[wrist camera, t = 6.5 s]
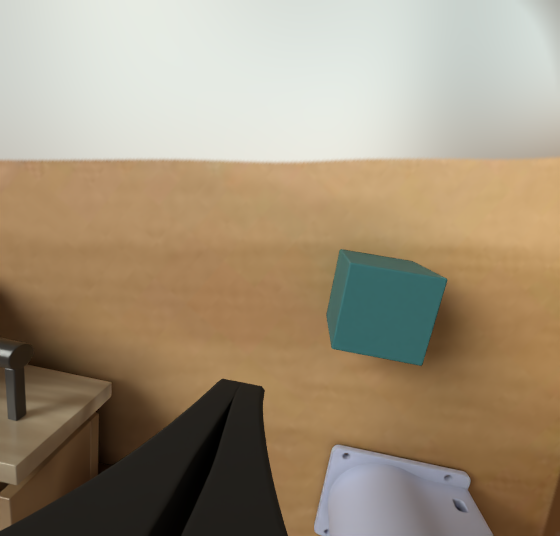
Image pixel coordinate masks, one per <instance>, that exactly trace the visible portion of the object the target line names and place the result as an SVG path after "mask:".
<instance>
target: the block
mask: <svg viewBox="0 0 560 536" xmlns="http://www.w3.org/2000/svg"><path fill="white" fill-rule="evenodd" d="M446 283H447V279H446V278H444V277H442V276H440V275H438V274H436V273H434V272H432V271H431V270H429V269H427V268H425V267H423V266H421V265H419V264H417V263H415V262H413V261H408V260H402V259H396V258H390V257H384V256H378V255H372V254H366V253H360V252H354V251H348V250H342V249H341V250H340V251H339V256H338V261H337V266H336V271H335V276H334V281H333V286H332V291H331V295H330V300H329V305H328V310H327V322H328V328H329V334H330V341H331V347H332V349H336V350H342V351H347V352H352V353H357V354H362V355H368V356H373V357H378V358H383V359H389V360H394V361H399V362H404V363H409V364H415V365H420V366H422V364H423V361H424V357H425V354H426V351H427V347H428V344H429V341H430V337H431V334H432V330H433V327H434V324H435V320H436V317H437V314H438V310H439V307H440V303H441V300H442V297H443V293H444V290H445V286H446Z"/></svg>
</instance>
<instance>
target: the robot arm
mask: <svg viewBox="0 0 560 536" xmlns="http://www.w3.org/2000/svg"><path fill="white" fill-rule="evenodd" d="M264 392H265V390H264V389H263V388H262V386H257V385H252V384H247V383H242V382H237V381H232V380H226V379H221V380H220V381H218V382H217V383H216V384H215V385H214V386H213V387H212V388H211V389H210V390H209V391H208V392H207V393H205V394H204V395H203V396H202V397H201V398H200V399H199V400H198V401H197V402H195V403H194V404H193V405H192V406H191V407H190V408H188V409H187V410H186V411H185V412H184V413H182V414H181V415H180V416H179V417H178V418H176V419H175V420H174V421H173V422H172V423H170V424H169V425H168V426H167V427H165V428H164V429H163V430H161V431H160V432H159V433H157V434H156V435H155V436H153V437H152V438H151V439H149V440H148V441H147V442H145V443H144V444H143V445H141V446H140V447H139V448H137V449H136V450H134V451H133V452H132V453H130V454H129V455H127V456H126V457H124V458H123V459H122V460H120V461H119V462H117V463H116V464H114V465H113V466H111V467H109V468H108V469H106V470H105V471H103V472H102V473H100V474H99V475H97V476H96V477H94V478H92V479H91V480H89V481H88V482H86V483H84V484H83V485H81V486H79V487H78V488H76V489H74V490H72V491H71V492H69V493H67V494H66V495H64V496H62V497H61V498H59V499H57V500H55V501H54V502H52V503H50V504H48V505H47V506H45V507H43V508H41V509H40V510H38V511H36V512H34V513H33V514H31V515H29V516H27V517H25V518H24V519H22V520H20V521H18V522H16V523H14V524H12V525H10V526H8V527H7V528H5V529H3V530H1V531H0V536H288V535H287V531H286V528H285V525H284V521H283V517H282V514H281V510H280V507H279V503H278V499H277V495H276V491H275V487H274V482H273V478H272V473H271V468H270V463H269V458H268V452H267V446H266V439H265V431H264V422H263V398H264ZM344 453H348V454H347V455H345V454H344ZM447 475H448V476H447ZM470 482H471V480H470V477H469V476H468V474H467V473H466V472H464V471H460V470H455V469H451V468H446V467H441V466H437V465H432V464H427V463H423V462H418V461H413V460H409V459H404V458H399V457H395V456H390V455H385V454H381V453H376V452H371V451H367V450H362V449H357V448H353V447H348V446H343V445H335V446H334V447H333V448H332V451H331V455H330V459H329V463H328V468H327V472H326V476H325V481H324V485H323V489H322V493H321V498H320V502H319V506H318V510H317V515H316V519H315V523H314V530H315V532H316V533H317V534H319V535H322V536H493V534H492V532H491V530H490V528H489V527H488V525H487V523H486V521H485V520H484V518H483V516H482V514H481V512H480V511H479V509H478V507H477V505H476V504H475V502H474V500H473V498H472V496H471V495H470V493H469V491H468V488H469V485H470Z"/></svg>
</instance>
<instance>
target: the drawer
mask: <svg viewBox="0 0 560 536" xmlns="http://www.w3.org/2000/svg"><path fill="white" fill-rule="evenodd" d="M33 354H34V348H33V346H32V345H31V344H29V343H24V342H19V341H14V340H10V339H5V338H0V531H1V530H3V529H5V528H7V527H8V526H10V525H12V524H14V523H16V522H18V521H20V520H22V519H24V518H25V517H27V516H29V515H31V514H33V513H34V512H36V511H38V510H40V509H41V508H43V507H45V506H47V505H48V504H50V503H52V502H54V501H55V500H57V499H59V498H61V497H62V496H64V495H66V494H67V493H69V492H71V491H72V490H74V489H76V488H78V487H79V486H81V485H83V484H84V483H86V482H88V481H89V480H91V479H92V478H94V477H96V476H97V475H98V437H99V413H96V412H95V411H97V410H98V409H99V408H100V407H101V406H102V405H103V404H104V403H105V402H106V401H107V400H108V399H109V398H110V397H111V390H112V383H111V382H107V381H103V380H98V379H93V378H88V377H84V376H79V375H74V374H69V373H65V372H60V371H55V370H50V369H46V368H41V367H36V366H31V365H27V364H28V363H29V361H30V360H31V359H32V357H33Z"/></svg>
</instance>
